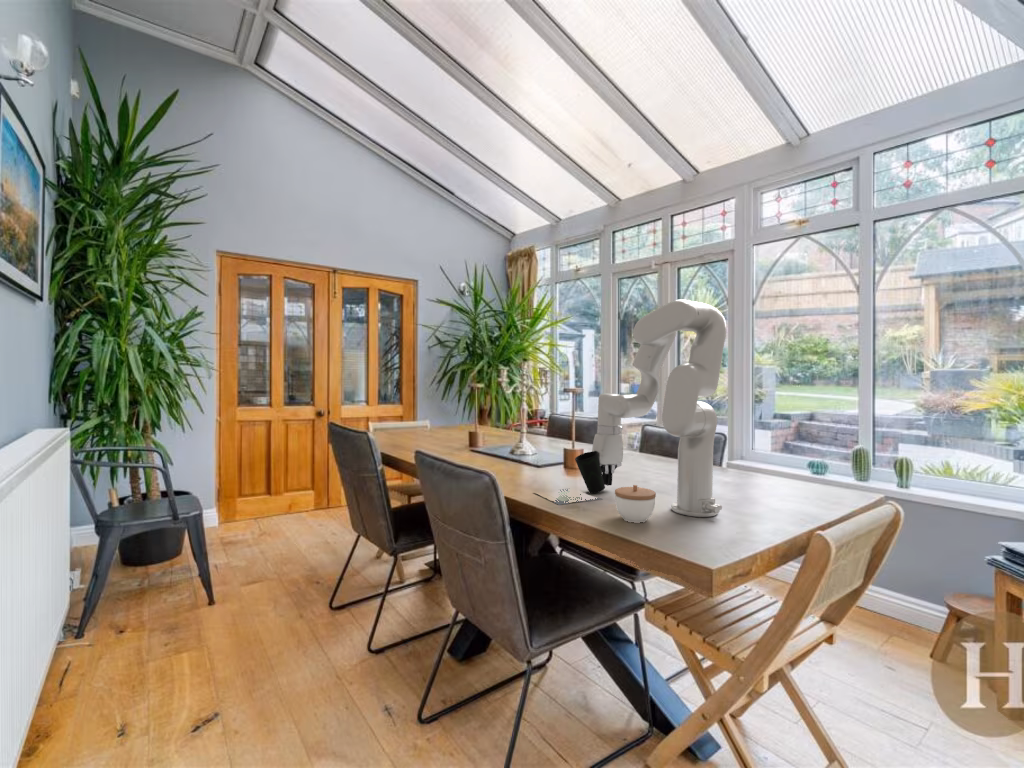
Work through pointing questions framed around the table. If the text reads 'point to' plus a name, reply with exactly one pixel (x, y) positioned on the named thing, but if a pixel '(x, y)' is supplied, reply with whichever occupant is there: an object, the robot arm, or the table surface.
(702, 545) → the table surface
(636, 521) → the lidded jar
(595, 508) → the table surface
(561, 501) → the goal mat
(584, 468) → the cup
